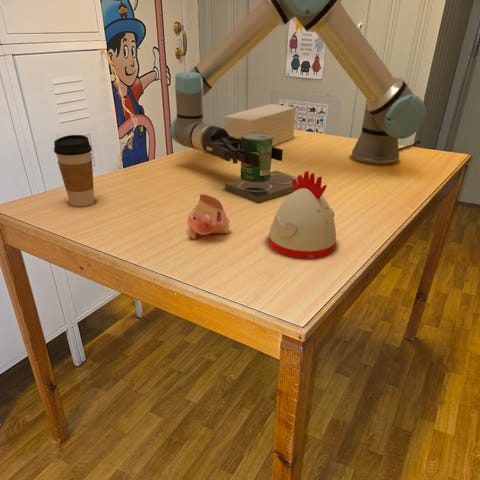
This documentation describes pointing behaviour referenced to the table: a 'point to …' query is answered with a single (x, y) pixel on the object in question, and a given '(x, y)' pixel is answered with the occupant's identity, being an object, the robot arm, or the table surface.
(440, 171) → the table surface
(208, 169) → the table surface
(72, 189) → the coffee cup
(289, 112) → the beige rectangular block
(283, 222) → the kitchen timer
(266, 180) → the canned tomato
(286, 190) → the hob
